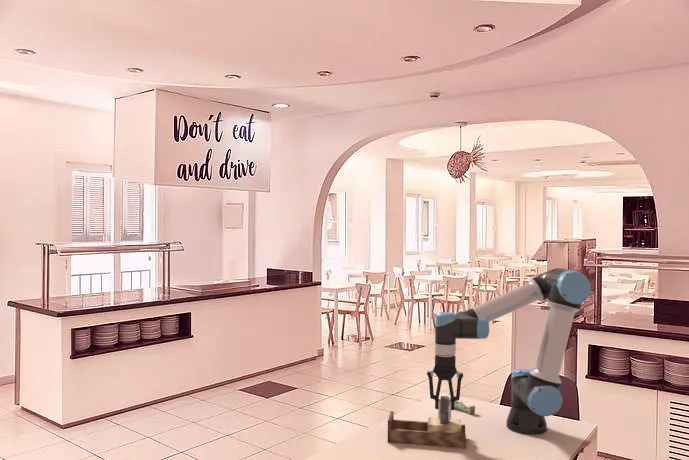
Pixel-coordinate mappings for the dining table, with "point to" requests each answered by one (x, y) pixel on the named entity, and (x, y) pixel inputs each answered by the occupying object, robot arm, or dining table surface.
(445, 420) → the block with handle
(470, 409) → the figurine
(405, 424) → the bay
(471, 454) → the dining table surface
